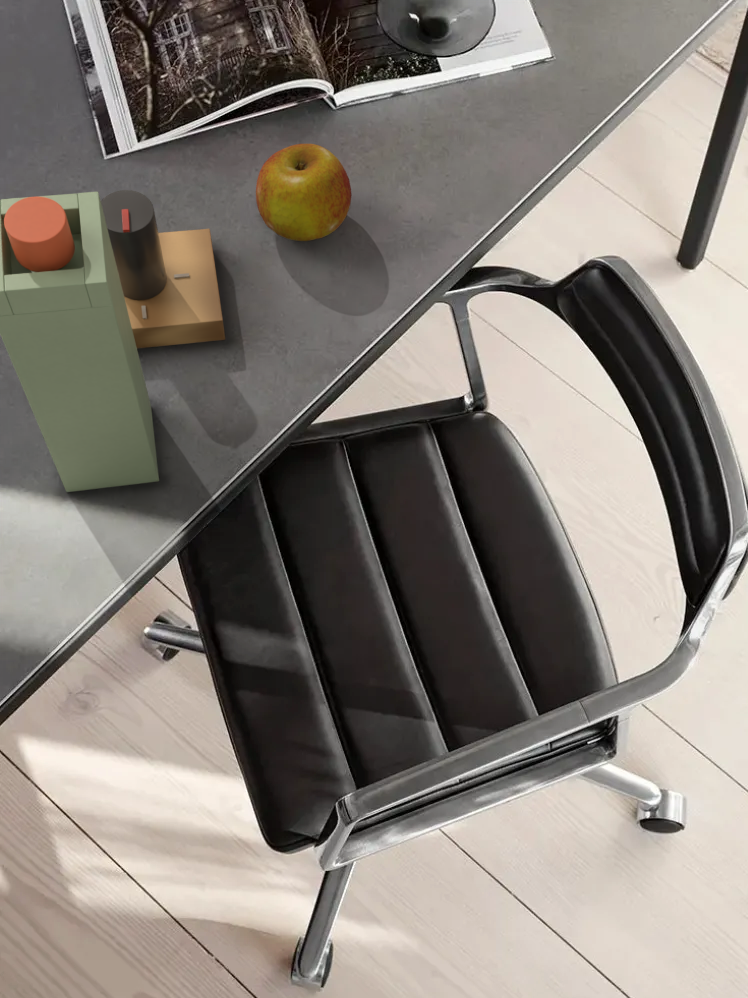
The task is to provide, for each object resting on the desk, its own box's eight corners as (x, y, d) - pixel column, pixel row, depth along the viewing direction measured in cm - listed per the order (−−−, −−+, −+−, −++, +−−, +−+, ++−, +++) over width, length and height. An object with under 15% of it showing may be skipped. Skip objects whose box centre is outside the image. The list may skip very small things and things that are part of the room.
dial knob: (113, 261, 106) (95, 188, 97) (165, 257, 106) (151, 185, 98) (115, 302, 104) (97, 232, 95) (168, 298, 104) (154, 228, 96)
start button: (16, 275, 76) (4, 245, 73) (13, 229, 78) (2, 198, 75) (76, 270, 77) (67, 240, 74) (73, 224, 78) (64, 193, 76)
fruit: (306, 172, 116) (305, 110, 109) (369, 222, 114) (373, 163, 107) (238, 221, 113) (232, 161, 106) (302, 273, 111) (301, 216, 104)
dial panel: (73, 355, 105) (66, 334, 102) (66, 262, 109) (59, 239, 106) (225, 340, 107) (222, 319, 104) (212, 249, 111) (209, 226, 108)
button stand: (66, 492, 99) (-18, 293, 74) (61, 415, 102) (-22, 200, 77) (159, 481, 100) (106, 282, 75) (151, 406, 103) (98, 191, 79)
